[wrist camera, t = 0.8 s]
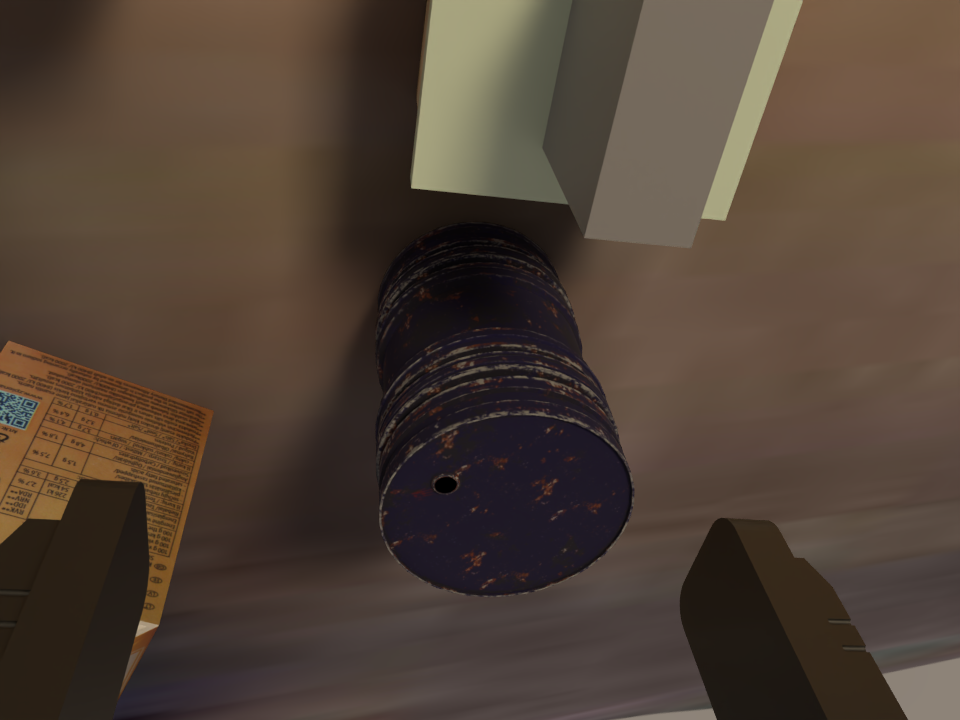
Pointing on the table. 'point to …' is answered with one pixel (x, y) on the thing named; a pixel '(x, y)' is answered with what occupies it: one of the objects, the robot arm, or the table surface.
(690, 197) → the lid
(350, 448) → the table surface
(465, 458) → the dark blue cylinder
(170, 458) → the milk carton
